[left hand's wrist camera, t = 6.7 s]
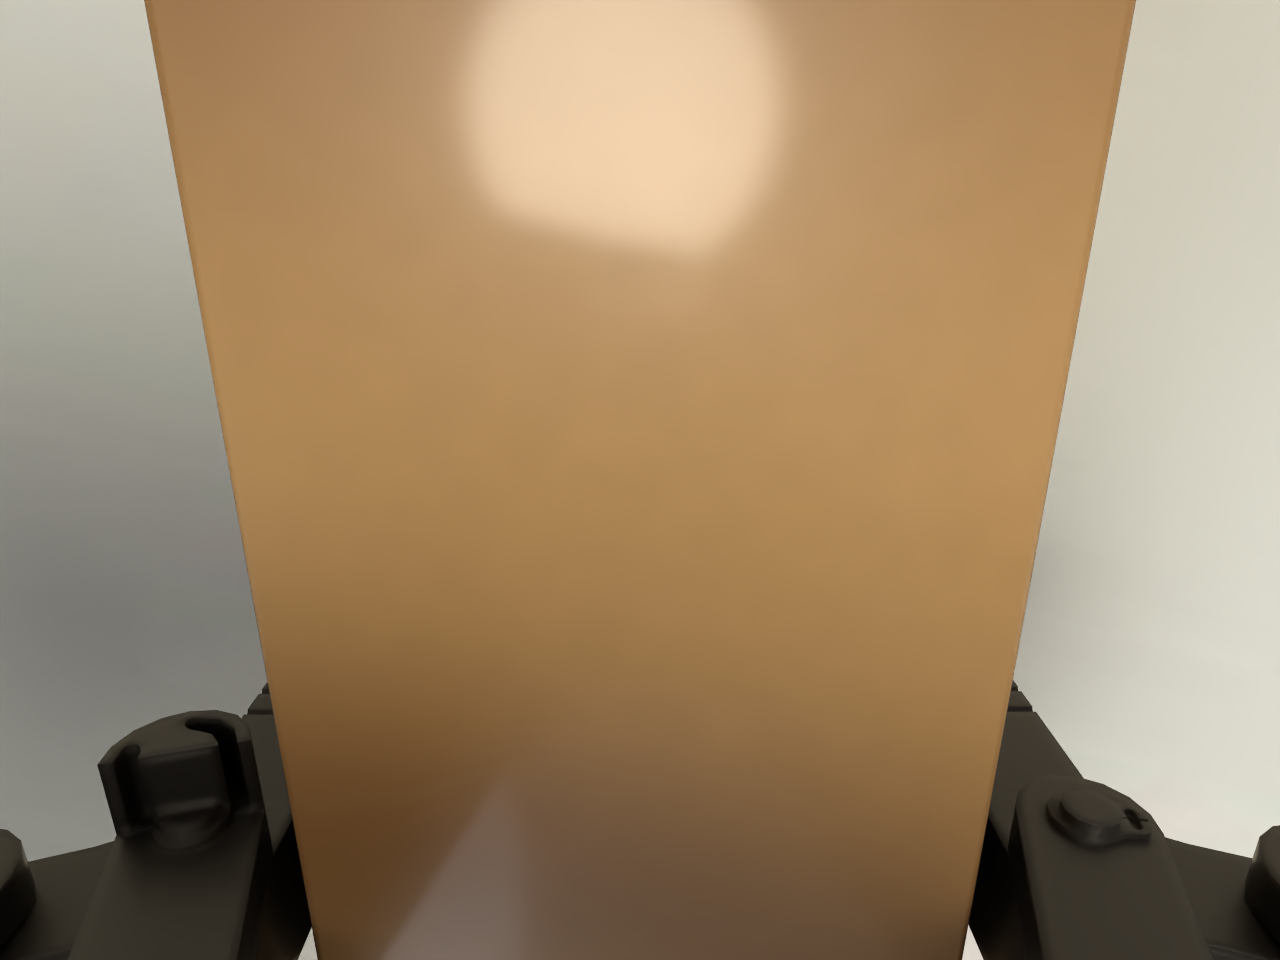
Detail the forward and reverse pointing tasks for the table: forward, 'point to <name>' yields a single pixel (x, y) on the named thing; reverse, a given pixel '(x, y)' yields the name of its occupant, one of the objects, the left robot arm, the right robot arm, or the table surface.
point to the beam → (640, 445)
